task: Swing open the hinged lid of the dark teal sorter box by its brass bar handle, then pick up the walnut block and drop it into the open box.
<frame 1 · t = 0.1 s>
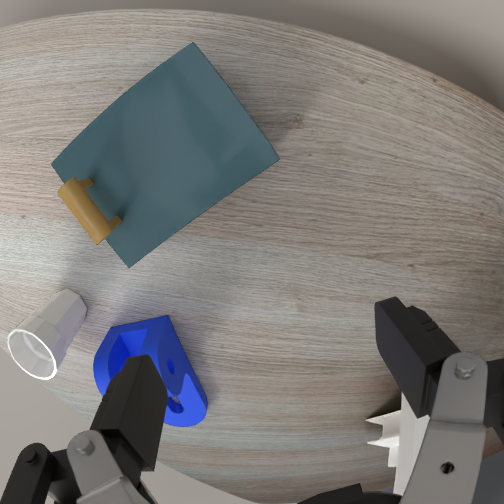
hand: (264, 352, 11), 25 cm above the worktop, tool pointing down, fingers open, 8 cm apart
cup: (70, 305, 37), on the worktop
white piece: (408, 395, 46), on the worktop
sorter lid: (148, 158, 22), point 10 cm above the worktop, hinge at 0.0°
bracket: (165, 374, 41), on the worktop
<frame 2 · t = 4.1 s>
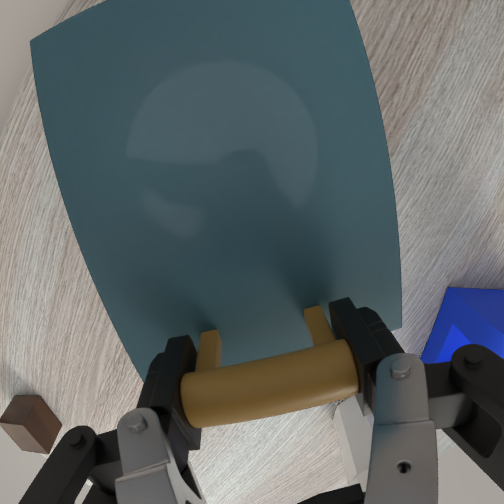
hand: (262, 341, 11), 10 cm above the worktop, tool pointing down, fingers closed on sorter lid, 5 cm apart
cup: (359, 408, 26), on the worktop
block: (37, 410, 25), on the worktop
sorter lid: (218, 186, 9), point 10 cm above the worktop, hinge at -0.1°, touching gripper
bracket: (495, 327, 24), on the worktop
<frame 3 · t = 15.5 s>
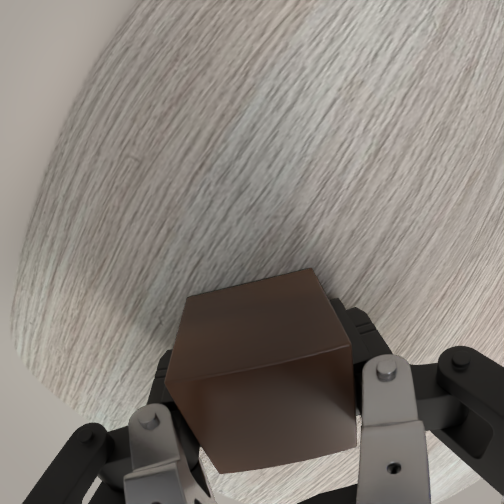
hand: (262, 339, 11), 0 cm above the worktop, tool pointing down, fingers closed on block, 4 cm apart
block: (262, 334, 12), on the worktop, touching gripper
when the fingers open (7 cm above the worktop, at t = 24.5 s): block drops 6 cm, resting on sorter box.
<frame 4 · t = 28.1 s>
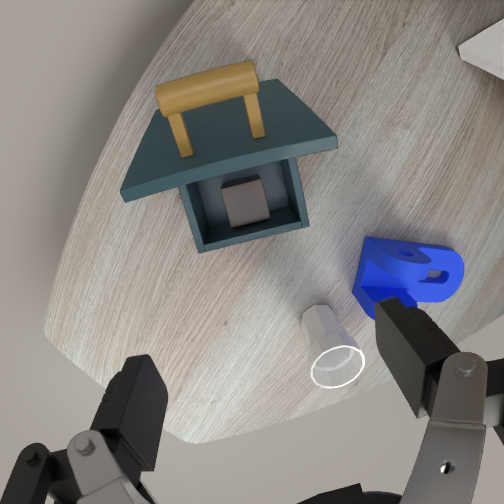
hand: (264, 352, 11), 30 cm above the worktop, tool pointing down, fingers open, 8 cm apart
cup: (317, 318, 46), on the worktop
block: (244, 196, 38), point 1 cm above the worktop, touching sorter box
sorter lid: (212, 92, 20), point 16 cm above the worktop, hinge at 68.2°
sorter box: (236, 163, 38), on the worktop
bracket: (411, 269, 44), on the worktop
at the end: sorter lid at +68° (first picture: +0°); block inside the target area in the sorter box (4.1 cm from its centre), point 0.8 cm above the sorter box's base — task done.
